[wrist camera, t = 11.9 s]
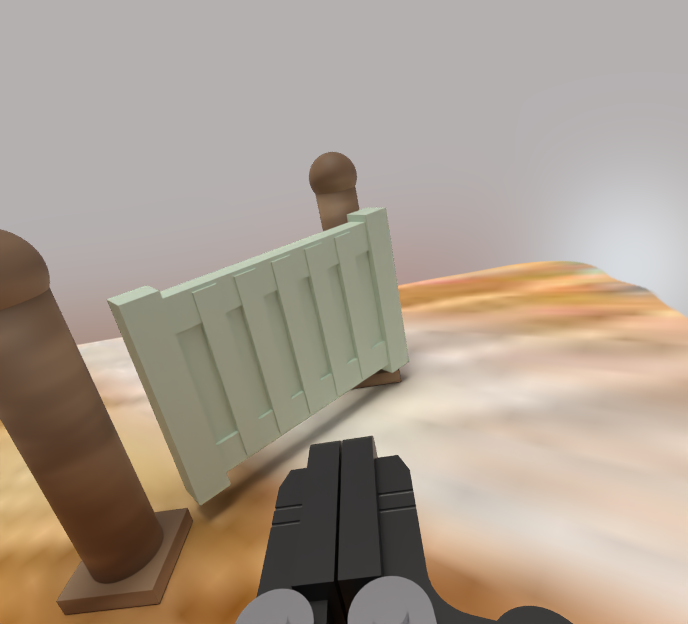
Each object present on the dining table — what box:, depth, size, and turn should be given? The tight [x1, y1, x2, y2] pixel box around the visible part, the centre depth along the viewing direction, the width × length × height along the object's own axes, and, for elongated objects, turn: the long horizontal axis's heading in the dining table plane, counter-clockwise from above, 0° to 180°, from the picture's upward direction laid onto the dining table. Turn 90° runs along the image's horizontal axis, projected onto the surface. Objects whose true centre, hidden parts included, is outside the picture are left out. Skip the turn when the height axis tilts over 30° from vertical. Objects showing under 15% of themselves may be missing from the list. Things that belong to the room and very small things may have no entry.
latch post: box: [309, 152, 401, 389], centre depth 28 cm, size 4×4×15 cm
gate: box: [107, 208, 409, 506], centre depth 23 cm, size 15×2×10 cm, turn 132°
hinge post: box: [0, 230, 193, 615], centre depth 17 cm, size 4×4×15 cm
